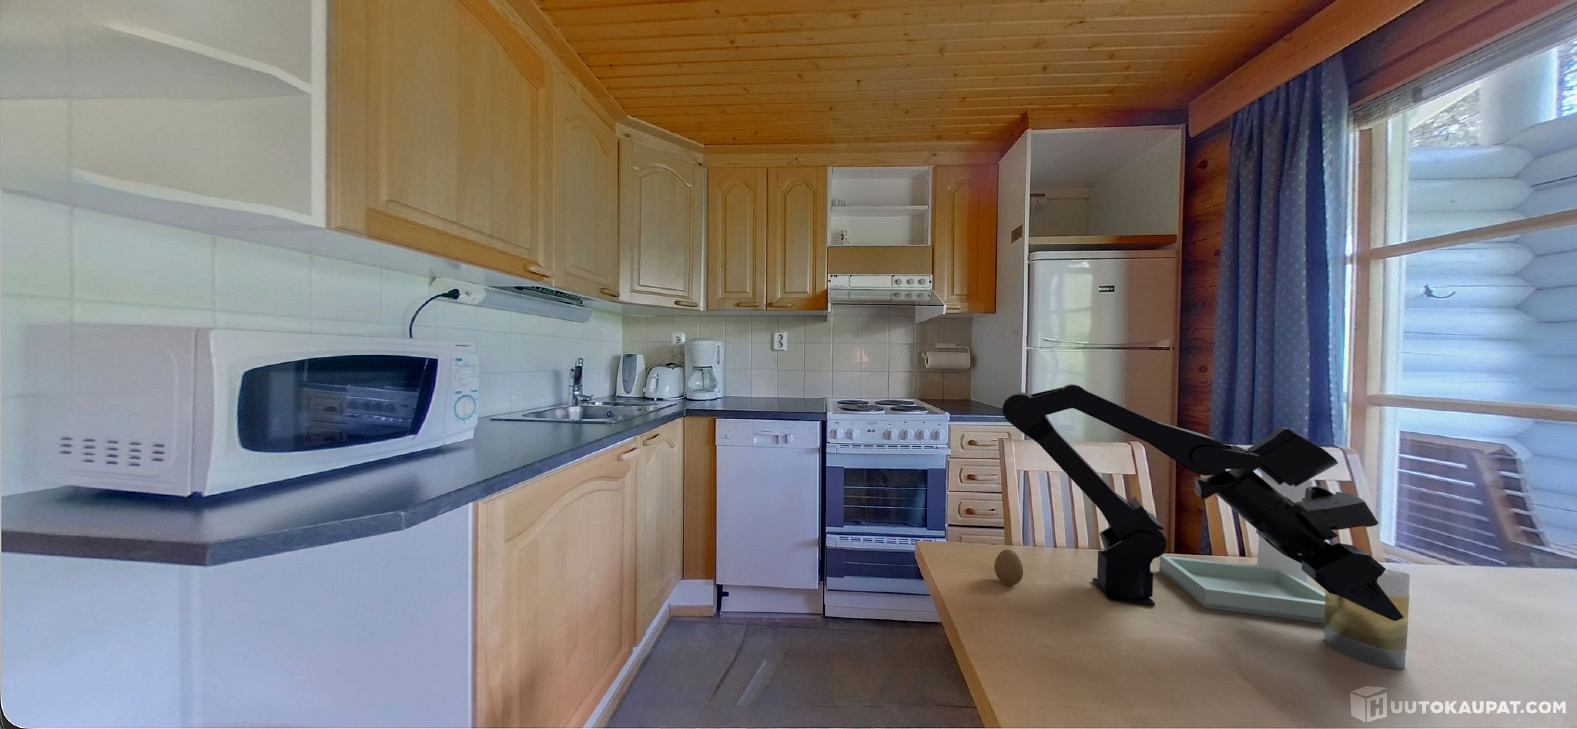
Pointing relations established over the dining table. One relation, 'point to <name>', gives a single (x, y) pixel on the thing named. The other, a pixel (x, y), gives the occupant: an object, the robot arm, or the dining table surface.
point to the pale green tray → (1246, 588)
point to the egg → (1008, 567)
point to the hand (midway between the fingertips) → (1374, 601)
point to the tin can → (1370, 624)
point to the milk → (1268, 553)
